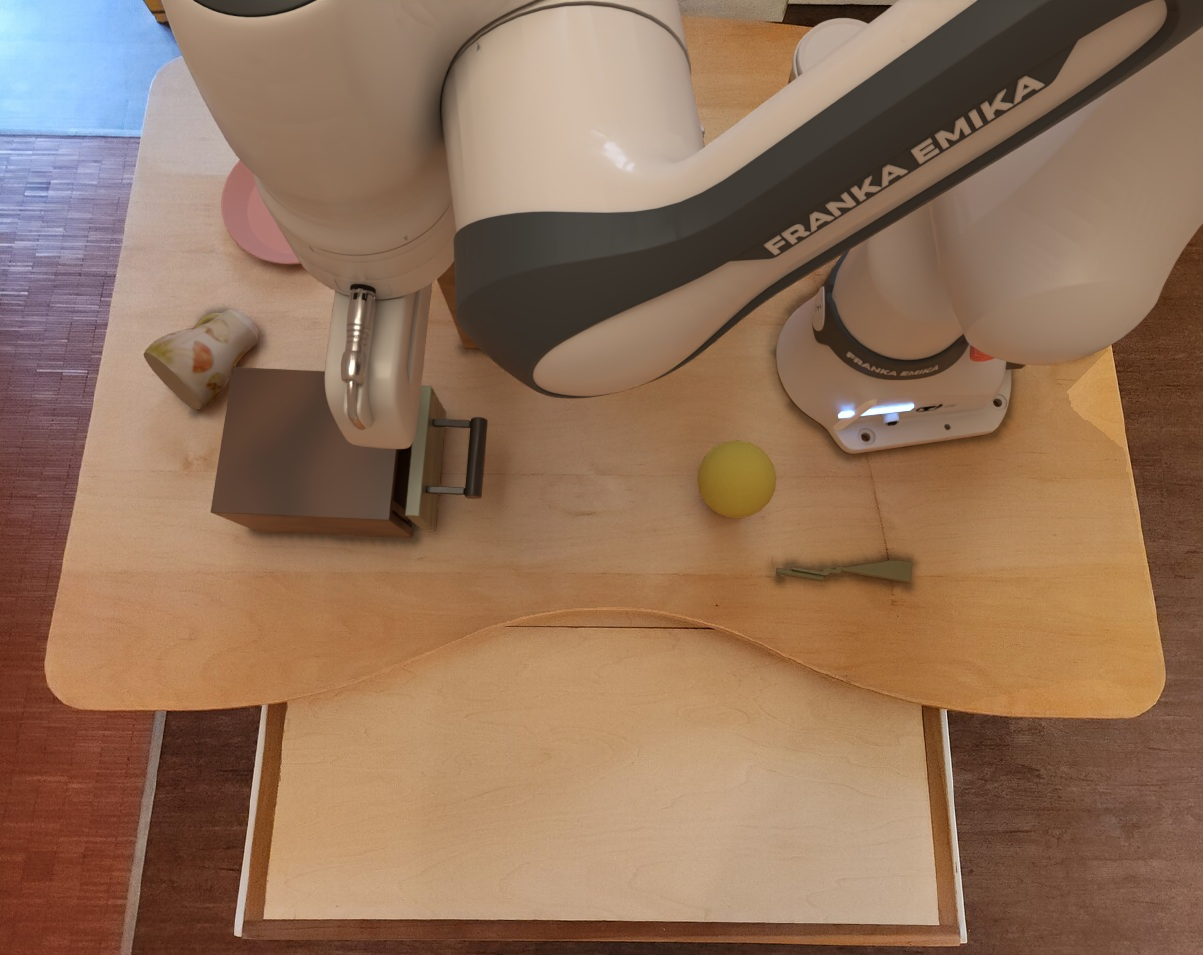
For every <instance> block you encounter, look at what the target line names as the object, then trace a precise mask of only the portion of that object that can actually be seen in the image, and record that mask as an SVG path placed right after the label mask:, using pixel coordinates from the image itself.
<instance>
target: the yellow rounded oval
mask: <svg viewBox="0 0 1203 955" xmlns="http://www.w3.org/2000/svg"><path fill="white" fill-rule="evenodd" d="M697 472H698V473H697V480H696V482H697V486H698V491H699V494H700V496H701V498H702V500H703V502H704V503H705V504H706V505H707V506H708V507H709V508H710V509H711V510H712V511H713V512H714V513H717V514H719V515H721V516H723V517H725V518H730V519H731V518H732V519H742V518H748V517H751V516H753V515H755V514H758V513H759V512H762V510H763V509H764V508H765V507H766V506H767V505H768V504H769V503H770V501H771V500H772V498H773V495H774V494H775V492H776V487H777V473H776V468H775V465H774V462H773V461H772V460H771V457H770V456H769V454H767V452H766V451H764V450H763V449H762V448H761V447H760V446H757V445H756V444H754V443H752V442H749V441H746V440H745V441H744V440H737V439H736V440H729V441H724V442H722V443H720V444H718V445H716V446H713V447H712V448H711V450H710V451H709V452H708V453H707V454H706V455H705V456H704V457H703V459H702V461H701V463H700V465H699V467H698V471H697Z"/></svg>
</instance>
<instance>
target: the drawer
mask: <svg viewBox="0 0 1203 955" xmlns="http://www.w3.org/2000/svg"><path fill="white" fill-rule="evenodd" d="M446 416H447V411H446V409H445V407H444V406H443V404H442V402H441V400H440V399H439V397H438V395H437V394H436V391H435V390H434V388H433V387H432V385H421V393H420V403H419V412H418V421H417V430H416V435H415V438H414V441H413V443H412V444H411V446H410V447H408V448H406V449H399V452H398V461H397V471H396V481H395V491H394V500H393V510H392V513H393V514H394V515H395V516H397V517H398V518H399V519H400V520H402V521H408V518H409V519H410V520H411V521H412V522H413V523H414V525H415V526H417V527H418V528H419V529H421V530H422V531H430V532H434V531H436V530H437V528H436V527H437V517H438V507H439V506H438V505H439V496H440V495H447V496H464V498H466V499H470V500H480V499H481V500H482V499H483V498H482V497H483V487H484V475H485V464H486V451H487V450H486V449H487V437H488V424H489V420H488V418H486V417H481V416H474V417H473V416H472V417H471V418H470V419H450V418H449V419H447V417H446ZM446 428H447V429H448V428H450V429H453V428H454V429H469V433H468V434H469V436H468V444H467V445H468V447H467V459H466V470H465V484H464V486H463V487H461V486H441V485H440V484H441V473H442V464H443V463H442V462H443V452H444V451H443V450H444V440H445V429H446Z"/></svg>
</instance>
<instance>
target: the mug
mask: <svg viewBox="0 0 1203 955" xmlns="http://www.w3.org/2000/svg"><path fill="white" fill-rule="evenodd" d="M258 342H259V330H258V328H257V326H256V324H255V323H254V321H253V320H252V319H251V318H250V316H248V314H245V313H244V312H242V311H241V310H237V309H226V310H225V311H223V312H222V313H221V312H213V313H209V314H207V315H205V316H203V317H201V318H200V320H199V321H198V322H197V323H196V324H194V326H193V327H189V328H185V329H181V330H177V331H174V332H170V333H167V334H165V335H163V336H161V337H159V338H157V339H156V340H154V341H153V342H152V343H150V345H149V346H147V348H146V349H145V351H144V352H143V357H144V360H145V361H146V363H147V365H148V366H149V367H150V369H151V371H153V373H154V374H155V375H156V376H157V377H158V378H159V380H160V381H161V382H162V383H163V384H164V385H165V386H166V387H167V388H168V389H169V390H170V391H171V392H172V393H174V395H176V396H177V397H178V398H179V399H180V400H181V401H182V402H184V403H185V404H186V405H188V406H189V407H191V408H192V409H194V410H200V409H201V410H202V409H203V408H205V407H208V406H209V405H210V404H212V403H213V402H215V401H216V400H217V399H218V398H219V397H220V395H222V393H223V391H224V389H225V387H226V386H227V385H228V383H229V381H230V379H231V376H232V370H233V367H237V364H238V362H239V361H240V360H241V358H242V357H243V356H244V355H245V354H246V353H247V352H248V351H249V350H251V349H252V348H253V347H254V346H256V345H257V344H258Z"/></svg>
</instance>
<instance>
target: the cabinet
mask: <svg viewBox="0 0 1203 955" xmlns="http://www.w3.org/2000/svg"><path fill="white" fill-rule="evenodd" d="M398 452H399V449H383V448H371V447H362V446H356V445H353V444H351V443H349V442H348V441H347V440H346V438H345V437H344V435H343V434H342V432H341V430H340V429H339V427H338V425H337V423H336V421H335V419H334V417H333V415H332V412H331V410H330V407H329V405H328V401H327V397H326V391H325V370H309V369H308V370H305V369H304V370H303V369H287V368H286V369H284V368H283V369H282V368H261V367H260V368H259V367H241V366H240V367H237V366H235V367H233V370H232V374H231V376H230V383H229V390H228V396H227V402H226V408H225V416H224V423H223V428H222V435H221V442H220V448H219V454H218V462H217V467H216V473H215V474H216V475H215V479H214V487H213V492H212V493H213V494H212V499H211V500H212V501H211V507H210V513H211V514H213V515H216V516H218V517H220V518H222V519H225V520H227V521H230V522H233V523H235V524H238V525H240V526H242V527H245V528H247V529H249V530H251V531H254V532H269V533H270V532H271V533H293V534H315V535H316V534H318V535H341V536H357V537H358V536H362V537H383V538H384V537H385V538H406V539H407V538H408V539H413V538H414V531H415V530H414V529H415V523H413V522H412V521H411V520H410V519H409V518H408V521H402V520H400V519H399V518H398V517H397V516H395V515H394V514H393V513H392V510H393V500H394V491H395V481H396V471H397V461H398Z"/></svg>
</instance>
